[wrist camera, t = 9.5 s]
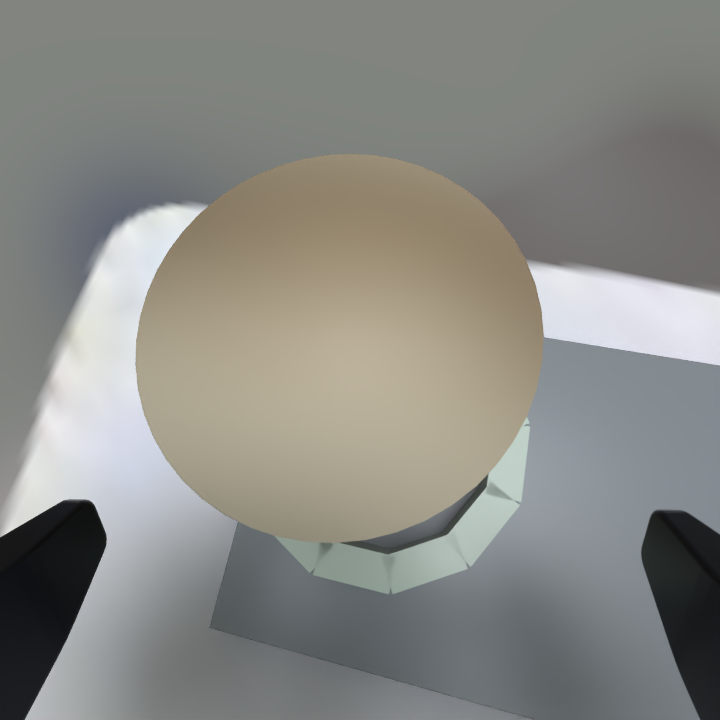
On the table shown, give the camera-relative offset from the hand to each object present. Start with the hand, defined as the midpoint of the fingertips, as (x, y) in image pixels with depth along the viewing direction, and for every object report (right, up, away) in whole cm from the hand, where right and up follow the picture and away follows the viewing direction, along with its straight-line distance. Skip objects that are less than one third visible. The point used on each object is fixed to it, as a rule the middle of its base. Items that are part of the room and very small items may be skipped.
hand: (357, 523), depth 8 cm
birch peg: (+1, 0, +9) cm, 9 cm away
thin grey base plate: (+7, -3, +9) cm, 12 cm away
